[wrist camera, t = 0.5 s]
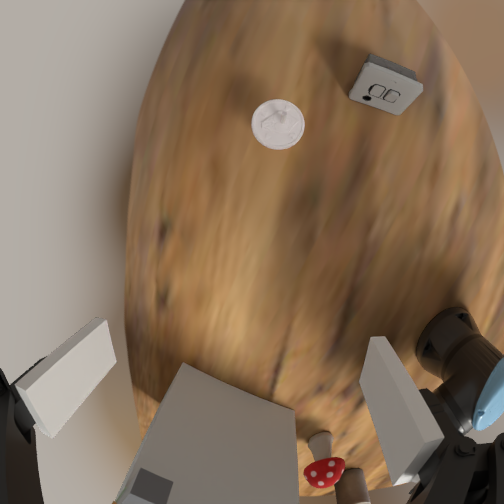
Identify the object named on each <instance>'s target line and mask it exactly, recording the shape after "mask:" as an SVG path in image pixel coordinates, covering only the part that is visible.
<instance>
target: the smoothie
mask: <svg viewBox="0 0 504 504" xmlns="http://www.w3.org/2000/svg"><path fill="white" fill-rule="evenodd" d="M304 126H305V123H304V118H303V115H302V113H301V111H300V110H299V109H298V108H297V107H296V106H295V105H294V104H292V103H291V102H289V101H286V100H281V99H273V100H269V101H266V102H264V103H263V104H261V105H260V106H259V107H258V108H257V109H256V110H255V112H254V114H253V117H252V131H253V134H254V136H255V137H256V139H257V140H258V141H259V142H260V143H261V144H262V145H264V146H266V147H268V148H271V149H275V150H281V149H286V148H289V147H291V146H293V145H295V144H296V143H297V142H298V141H299V140H300V138H301V136H302V135H303V131H304Z"/></svg>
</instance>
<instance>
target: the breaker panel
mask: <svg viewBox="0 0 504 504" xmlns="http://www.w3.org/2000/svg"><path fill="white" fill-rule="evenodd" d="M140 468H143V469H145V470H147V471H150V472H152V473H154V474H156V475H158V476H161V477H163V478H165V479H168V480H170V481H173V485H172V488H171V492H170V495H169V498H168V501H167V504H299V482H298V460H297V441H296V425H295V411H294V410H291V409H288V408H285V407H283V406H280V405H277V404H275V403H272V402H269V401H267V400H264V399H262V398H259V397H257V396H254V395H252V394H250V393H247V392H245V391H243V390H240V389H238V388H236V387H233V386H231V385H229V384H227V383H224V382H222V381H220V380H218V379H216V378H214V377H212V376H210V375H208V374H205V373H203V372H201V371H199V370H197V369H195V368H193V367H192V366H190V365H188V364H186V363H184V362H183V363H182V365H181V367H180V368H179V370H178V372H177V374H176V376H175V378H174V379H173V381H172V383H171V385H170V387H169V389H168V391H167V392H166V394H165V396H164V398H163V400H162V402H161V403H160V405H159V408H158V410H157V412H156V414H155V416H154V418H153V420H152V422H151V424H150V426H149V428H148V431H147V433H146V435H145V437H144V439H143V441H142V443H141V445H140V448H139V450H138V452H137V454H136V456H135V458H134V460H133V462H132V465H131V467H130V469H129V471H128V473H127V475H126V478H125V480H124V482H123V484H122V486H121V489H120V491H119V493H118V495H117V498H116V499H115V502H118V500H119V499H120V497H121V496H122V494H123V493H124V491H125V490H126V488H127V487H128V486H129V484H130V483H131V481H132V480H133V478H134V477H135V475H136V474H137V472H138V471H139V469H140Z"/></svg>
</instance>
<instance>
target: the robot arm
mask: <svg viewBox="0 0 504 504" xmlns="http://www.w3.org/2000/svg"><path fill="white" fill-rule="evenodd" d="M417 359H418V361H419V363H420V364H421V366H422V367H423V368H424V369H425V370H426V371H428V372H429V373H431V374H433V375H435V376H437V377H439V378H441V379H442V380H443V382H444V383H443V384H441V385H440V386H439V387H438V388H437V389H435V390H434V391H433V392H431V391H430V390H428V389H427V388H426V389H420V390H418V389H417V387H416V385H415V383H414V382H413V380H412V379H411V377H410V375H409V374H408V372H407V370H406V369H405V367H404V365H403V364H402V362H401V361H400V359H399V357H398V356H397V354H396V353H395V351H394V350H393V348H392V346H391V345H390V343H389V342H388V340H387V339H386V337H385V336H379V337H370V341H369V346H368V350H367V354H366V358H365V362H364V366H363V369H362V373H361V377H360V380H359V383H360V386H361V389H362V391H363V394H364V397H365V400H366V403H367V406H368V409H369V411H370V414H371V417H372V420H373V423H374V426H375V429H376V432H377V435H378V439H379V442H380V445H381V448H382V451H383V454H384V458H385V461H386V464H387V468H388V471H389V475H390V478H391V482H392V485H393V486H395V485H399V484H403V483H407V482H410V481H411V482H416V483H417V484H416V486H415V487H414V488H413V489H412V490H411V491H410V492H409V494H411V493H412V492H413V493H412V494H411V496H410V498H409V500H408V502H407V503H406V504H504V433H501V434H500V435H498V436H497V438H496V439H495V440H494V442H493V443H486V444H476V442H475V441H474V440H473V439H471V438H469V437H465V436H464V435H465V434H466V433H468V432H469V431H470V430H471V429H472V428H474V429H475V430H479V431H480V430H483V429H485V428H486V427H487V426H490V425H491V424H492V423H493V422H495V420H497V419H498V417H499V416H500V415H501V414H502V413H503V412H504V355H503V354H502V353H501V352H500V351H499V350H497V349H496V348H495V347H494V346H493V345H492V344H491V343H490V342H489V341H488V340H486V339H485V338H484V337H483V336H482V335H481V333H480V331H479V329H478V327H477V325H476V323H475V321H474V319H473V317H472V316H471V314H469V313H468V312H467V311H466V310H464V309H463V308H460V307H453V308H449V309H447V310H445V311H443V312H441V313H440V314H438V315H437V316H436V317H435V318H434V319H433V320H432V321H431V322H430V323H429V324H428V325H427V327H426V328H425V330H424V331H423V333H422V335H421V337H420V339H419V342H418V345H417ZM116 362H117V361H116V357H115V353H114V349H113V345H112V341H111V336H110V332H109V328H108V323H107V319H103V318H97V317H96V318H94V319H93V320H92V321H90V322H89V323H88V324H87V325H85V326H84V327H83V328H82V329H80V330H79V331H78V332H76V333H75V334H74V335H73V336H72V337H70V338H69V339H68V340H67V341H65V342H64V343H63V344H62V345H60V346H59V347H58V348H57V349H56V350H54V351H53V352H52V353H51V354H50V355H48V356H46V357H44V358H42V359H40V360H39V361H38V362H37V363H35V364H34V366H32V367H30V368H29V370H27V371H26V372H25V373H23V374H22V375H21V376H20V377H19V378H18V379H16V380H15V381H14V382H13V383H12V384H11V385H9V383H8V381H7V379H6V377H5V375H4V373H3V371H2V370H1V368H0V504H44V501H43V497H42V491H41V485H40V478H39V471H38V462H37V451H36V435H35V429H34V428H33V425H34V424H35V423H36V424H37V426H38V427H39V429H40V430H41V432H42V433H44V434H46V435H47V436H49V437H51V438H54V437H55V435H56V434H57V433H58V432H59V430H60V429H61V428H62V427H63V425H64V424H65V423H66V422H67V421H68V419H69V418H70V417H71V416H72V415H73V413H74V412H75V411H76V410H77V408H78V407H79V406H80V405H81V404H82V402H83V401H84V400H85V399H86V398H87V396H88V395H89V394H90V393H91V392H92V391H93V389H94V388H95V387H96V386H97V385H98V383H99V382H100V381H101V380H102V379H103V377H104V376H105V375H106V374H107V373H108V372H109V371H110V369H111V368H112V367H113V366H114V365H115V364H116Z"/></svg>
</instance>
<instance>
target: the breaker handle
mask: <svg viewBox="0 0 504 504" xmlns="http://www.w3.org/2000/svg"><path fill="white" fill-rule="evenodd" d="M172 485H173V481H170V480H168V479H165V478H163V477H161V476H158V475H156V474H154V473H152V472H150V471H147V470H145V469H143V468H140V469H139V471H138V472H137V474H136V475H135V477H134V478H133V480H132V481H131V483H130V484H129V486H128V487H127V488H126V490H125V491H124V493H123V494H122V496H121V497H120V499H119V500H118V502H115V501H113V503H112V504H167V501H168V498H169V495H170V492H171V488H172Z"/></svg>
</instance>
